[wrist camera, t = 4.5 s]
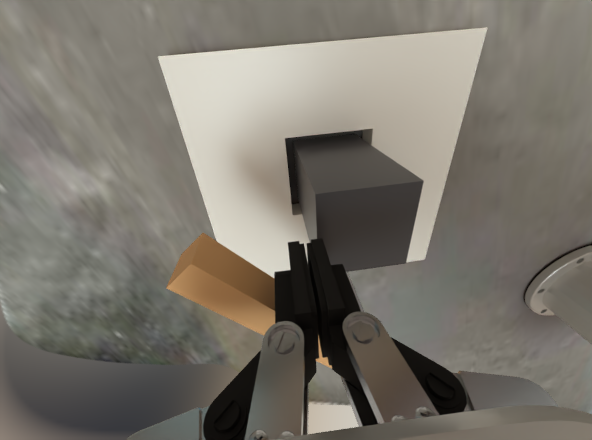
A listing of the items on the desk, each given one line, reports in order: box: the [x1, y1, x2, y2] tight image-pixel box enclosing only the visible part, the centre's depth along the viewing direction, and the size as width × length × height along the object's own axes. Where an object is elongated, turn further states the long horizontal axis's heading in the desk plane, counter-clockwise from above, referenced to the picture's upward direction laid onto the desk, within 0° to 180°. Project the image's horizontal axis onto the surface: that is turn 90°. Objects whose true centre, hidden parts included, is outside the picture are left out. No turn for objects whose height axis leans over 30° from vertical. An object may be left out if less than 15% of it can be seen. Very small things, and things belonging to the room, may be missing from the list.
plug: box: [293, 134, 424, 272], centre depth 16 cm, size 5×5×10 cm
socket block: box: [158, 27, 488, 312], centre depth 17 cm, size 20×19×9 cm
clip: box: [166, 233, 332, 368], centre depth 13 cm, size 2×14×3 cm, turn 44°
